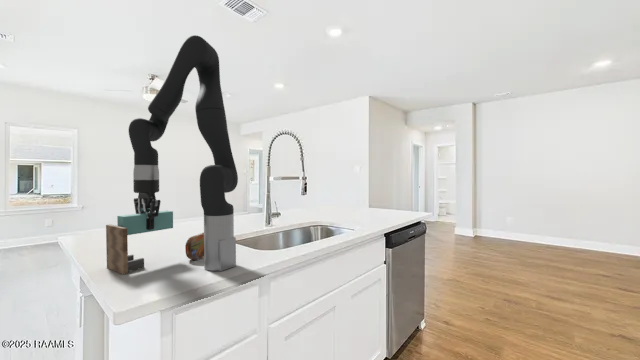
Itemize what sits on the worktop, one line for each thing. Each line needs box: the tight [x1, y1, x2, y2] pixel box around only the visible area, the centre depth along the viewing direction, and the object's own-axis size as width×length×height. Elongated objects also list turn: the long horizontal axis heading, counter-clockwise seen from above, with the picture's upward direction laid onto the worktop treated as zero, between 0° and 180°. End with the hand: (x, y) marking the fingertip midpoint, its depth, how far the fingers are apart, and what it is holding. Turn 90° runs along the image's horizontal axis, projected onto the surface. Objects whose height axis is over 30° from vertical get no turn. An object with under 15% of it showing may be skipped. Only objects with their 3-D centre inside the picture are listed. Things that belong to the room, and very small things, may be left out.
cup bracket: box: [105, 223, 145, 276], centre depth 92 cm, size 12×7×14 cm, turn 57°
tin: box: [185, 232, 204, 261], centre depth 106 cm, size 15×3×8 cm, turn 168°
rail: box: [116, 210, 174, 236], centre depth 98 cm, size 4×16×6 cm, turn 146°
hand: (146, 228), depth 98 cm, fingers closed on rail, 4 cm apart
